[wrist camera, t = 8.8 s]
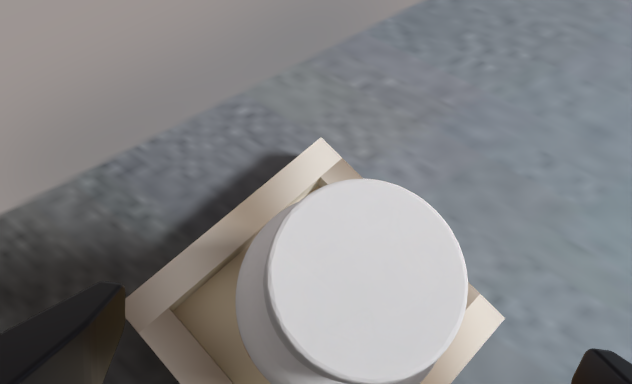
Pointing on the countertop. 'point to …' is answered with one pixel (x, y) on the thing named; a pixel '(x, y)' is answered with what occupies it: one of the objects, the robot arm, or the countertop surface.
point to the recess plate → (221, 281)
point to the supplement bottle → (351, 288)
